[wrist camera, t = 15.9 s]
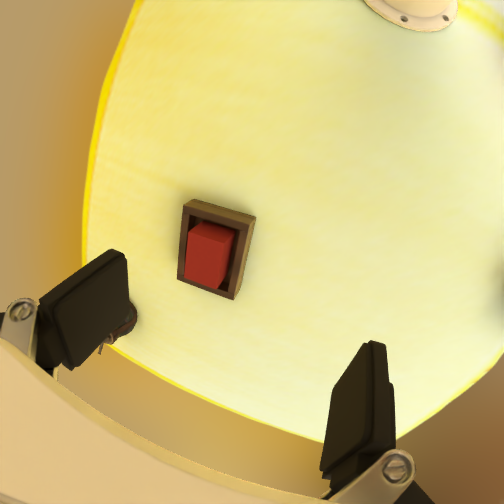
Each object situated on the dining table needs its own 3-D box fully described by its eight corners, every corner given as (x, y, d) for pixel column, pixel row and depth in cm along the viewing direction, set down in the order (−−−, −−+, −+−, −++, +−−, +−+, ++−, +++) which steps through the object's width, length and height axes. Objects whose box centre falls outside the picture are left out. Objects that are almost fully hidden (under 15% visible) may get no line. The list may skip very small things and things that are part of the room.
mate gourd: (137, 295, 47) (102, 328, 38) (146, 328, 50) (116, 362, 41) (108, 287, 49) (74, 317, 40) (118, 319, 52) (88, 349, 43)
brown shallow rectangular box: (193, 198, 36) (183, 204, 33) (256, 216, 34) (249, 224, 32) (185, 269, 41) (176, 279, 39) (240, 289, 40) (233, 300, 37)
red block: (202, 220, 36) (188, 231, 32) (236, 230, 35) (224, 243, 32) (197, 263, 39) (183, 277, 35) (227, 274, 38) (216, 289, 35)
